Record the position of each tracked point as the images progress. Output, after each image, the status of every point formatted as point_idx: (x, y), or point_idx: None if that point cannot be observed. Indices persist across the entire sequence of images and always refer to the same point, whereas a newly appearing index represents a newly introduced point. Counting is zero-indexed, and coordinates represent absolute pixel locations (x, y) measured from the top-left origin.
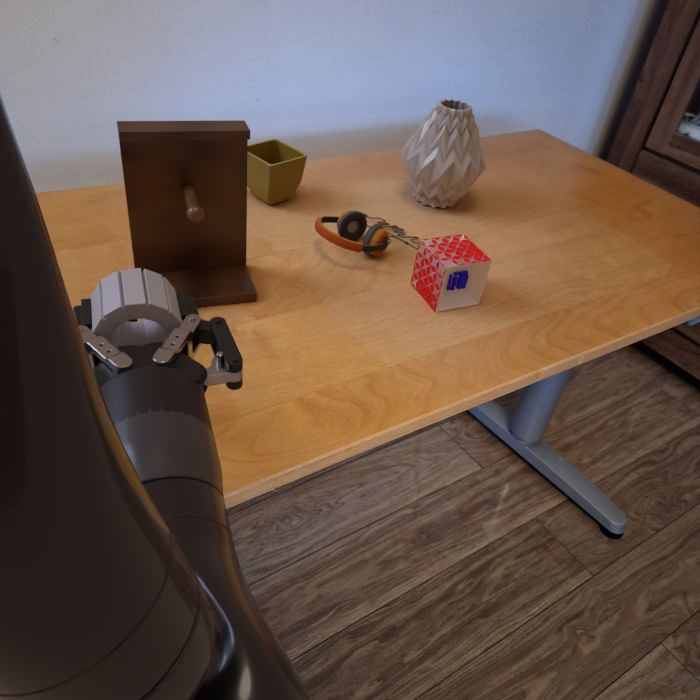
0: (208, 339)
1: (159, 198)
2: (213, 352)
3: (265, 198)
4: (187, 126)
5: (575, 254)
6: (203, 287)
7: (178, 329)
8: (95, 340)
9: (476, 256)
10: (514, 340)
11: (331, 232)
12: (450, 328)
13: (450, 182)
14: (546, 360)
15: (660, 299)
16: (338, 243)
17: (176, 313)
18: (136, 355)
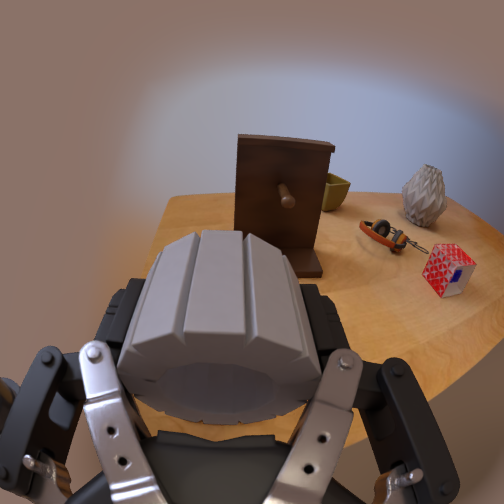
0: (364, 402)
1: (259, 191)
2: (365, 424)
3: (322, 206)
4: (288, 139)
5: (490, 264)
6: None
7: (323, 410)
8: (101, 409)
9: (468, 260)
10: (484, 321)
11: (373, 231)
12: (451, 311)
13: (432, 211)
14: (499, 336)
15: None
16: (378, 240)
17: (312, 349)
18: (199, 480)
